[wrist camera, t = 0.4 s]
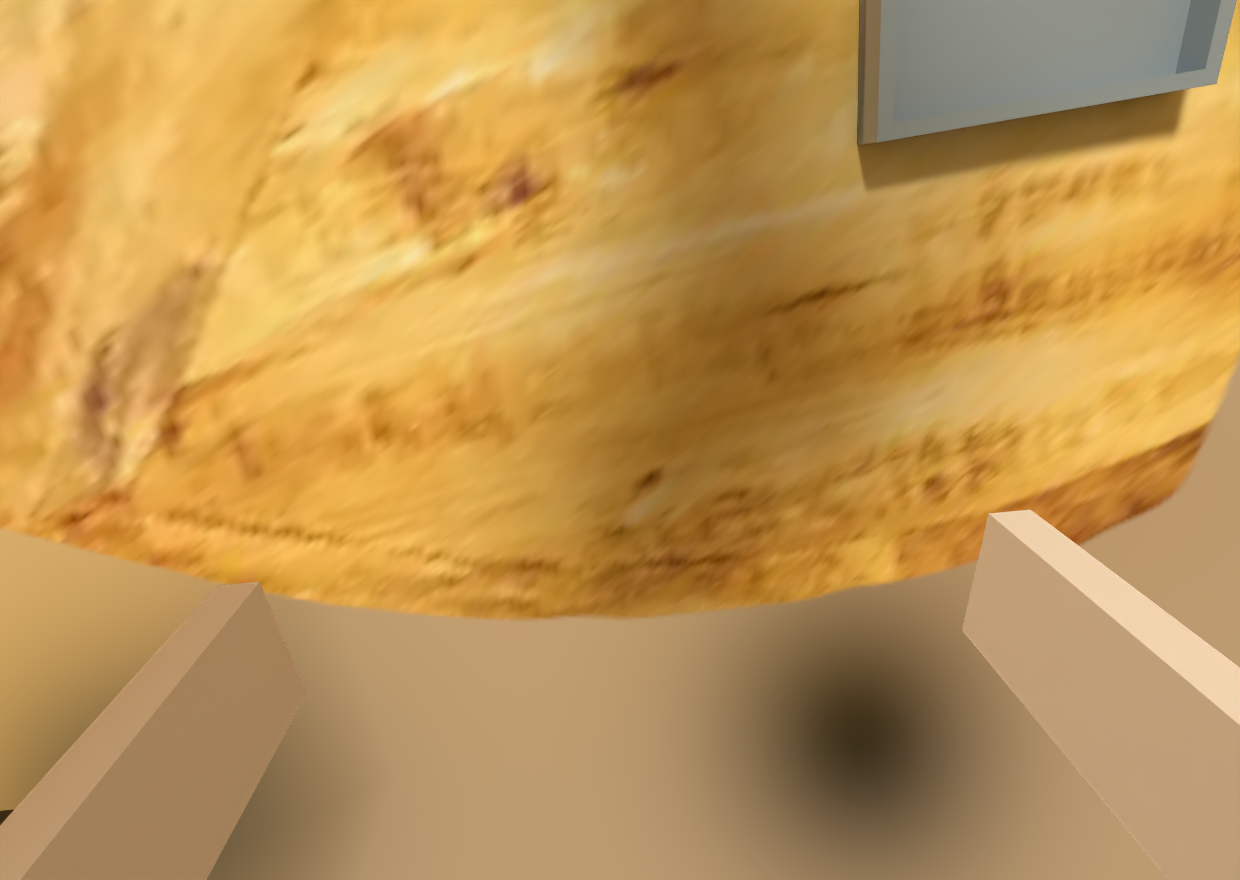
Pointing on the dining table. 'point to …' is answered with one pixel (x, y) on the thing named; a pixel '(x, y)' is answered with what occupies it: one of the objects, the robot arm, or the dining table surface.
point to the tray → (1025, 58)
